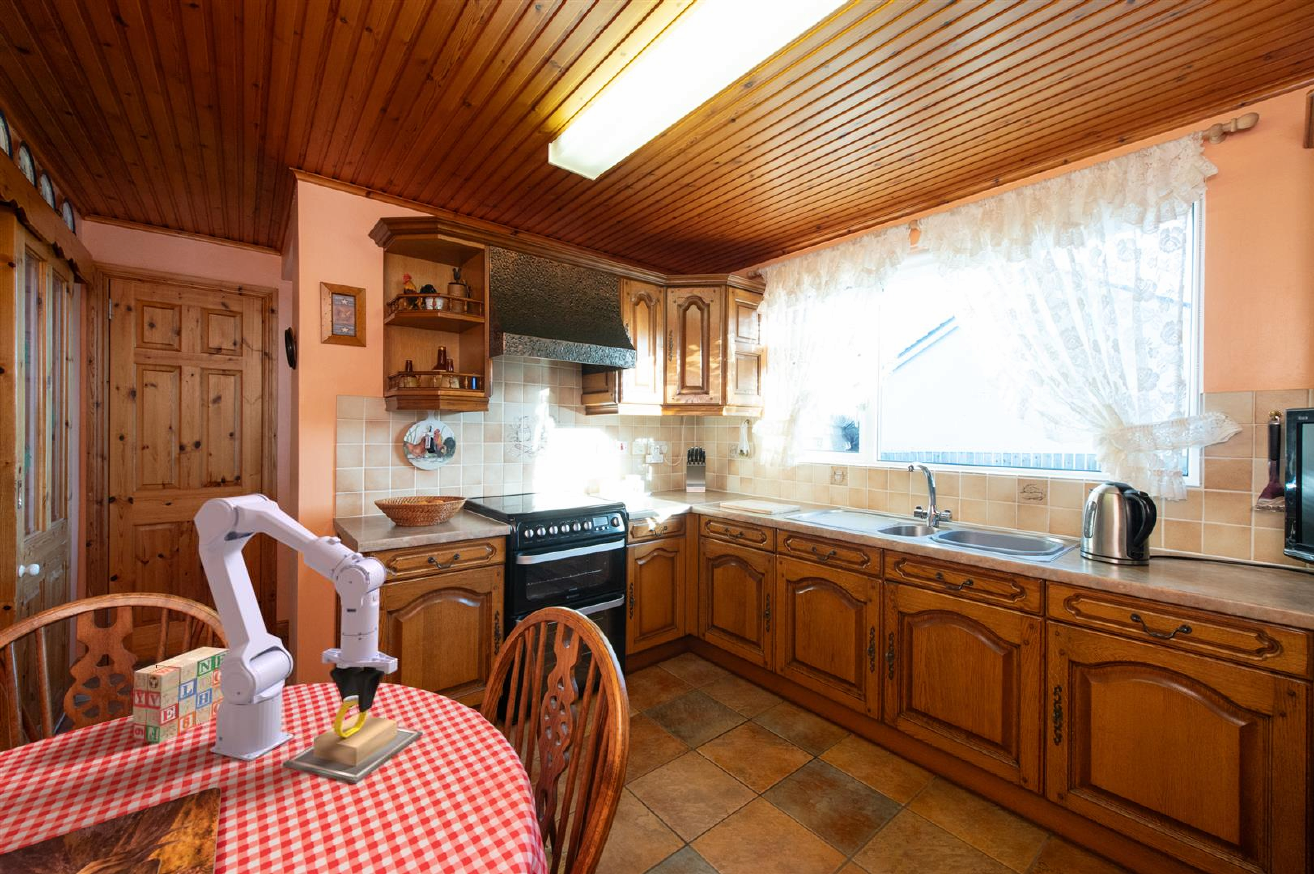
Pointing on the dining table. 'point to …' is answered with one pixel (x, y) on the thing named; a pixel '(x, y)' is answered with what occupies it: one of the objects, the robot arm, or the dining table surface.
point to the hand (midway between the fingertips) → (357, 708)
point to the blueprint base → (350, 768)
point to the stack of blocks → (177, 694)
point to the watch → (340, 715)
